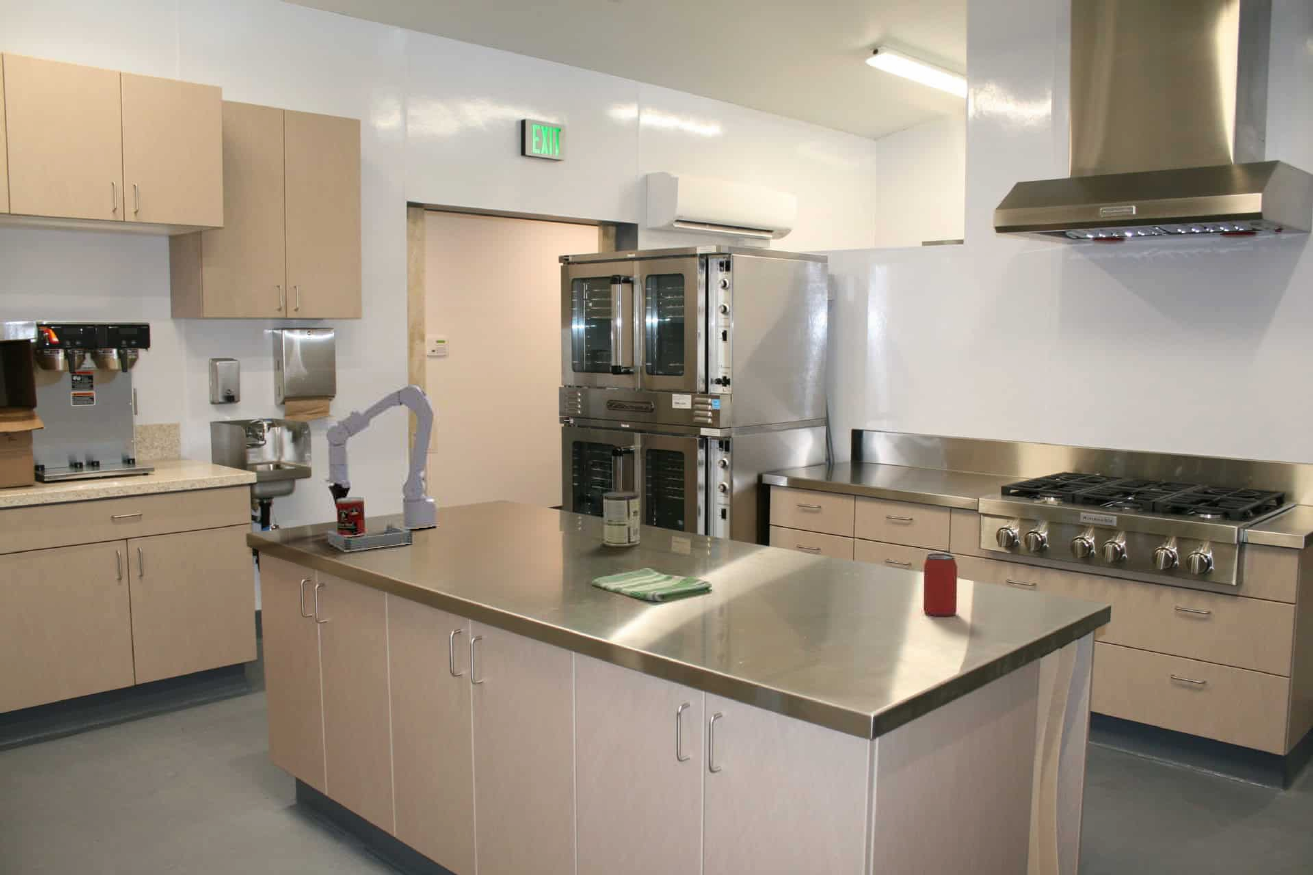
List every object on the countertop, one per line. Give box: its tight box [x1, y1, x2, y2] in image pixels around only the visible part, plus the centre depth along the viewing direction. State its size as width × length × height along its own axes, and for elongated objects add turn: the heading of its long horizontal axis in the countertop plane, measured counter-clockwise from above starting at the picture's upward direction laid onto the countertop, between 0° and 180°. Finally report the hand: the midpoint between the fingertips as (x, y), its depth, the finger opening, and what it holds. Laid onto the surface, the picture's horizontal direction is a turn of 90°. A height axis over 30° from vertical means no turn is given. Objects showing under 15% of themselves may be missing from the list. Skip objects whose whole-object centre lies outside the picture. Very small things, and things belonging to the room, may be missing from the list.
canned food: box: [336, 496, 366, 535], centre depth 301 cm, size 8×8×11 cm
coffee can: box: [602, 490, 641, 547], centre depth 285 cm, size 10×10×14 cm
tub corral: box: [326, 523, 413, 550], centre depth 288 cm, size 19×16×4 cm
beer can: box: [923, 552, 958, 618], centre depth 208 cm, size 7×7×12 cm
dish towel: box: [590, 567, 713, 603], centre depth 233 cm, size 18×23×3 cm
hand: (340, 508), depth 309 cm, fingers closed
